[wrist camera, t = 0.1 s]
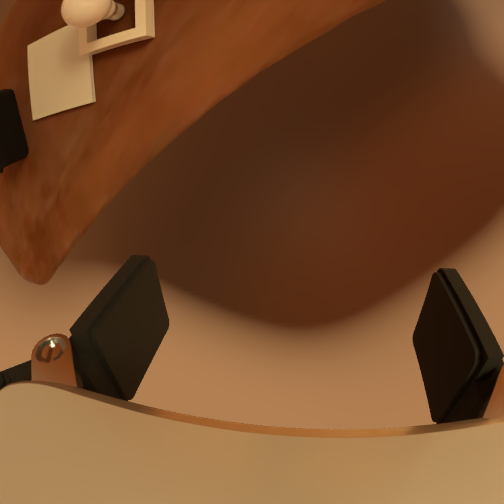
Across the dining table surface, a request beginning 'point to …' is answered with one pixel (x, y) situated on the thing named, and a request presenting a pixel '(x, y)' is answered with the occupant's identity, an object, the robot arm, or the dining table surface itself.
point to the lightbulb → (90, 12)
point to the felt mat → (59, 73)
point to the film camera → (10, 131)
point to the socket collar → (141, 32)
